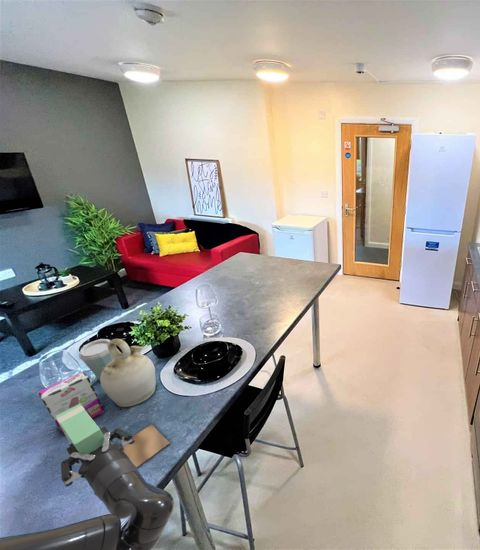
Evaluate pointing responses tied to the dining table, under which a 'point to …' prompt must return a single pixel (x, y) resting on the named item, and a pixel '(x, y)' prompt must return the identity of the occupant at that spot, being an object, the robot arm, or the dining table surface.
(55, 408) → the candy bar box
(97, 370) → the disposable coffee cup
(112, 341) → the jug
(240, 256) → the dining table surface
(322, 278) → the dining table surface
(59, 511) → the dining table surface
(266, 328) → the dining table surface
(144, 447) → the cork mat
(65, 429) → the green carton
